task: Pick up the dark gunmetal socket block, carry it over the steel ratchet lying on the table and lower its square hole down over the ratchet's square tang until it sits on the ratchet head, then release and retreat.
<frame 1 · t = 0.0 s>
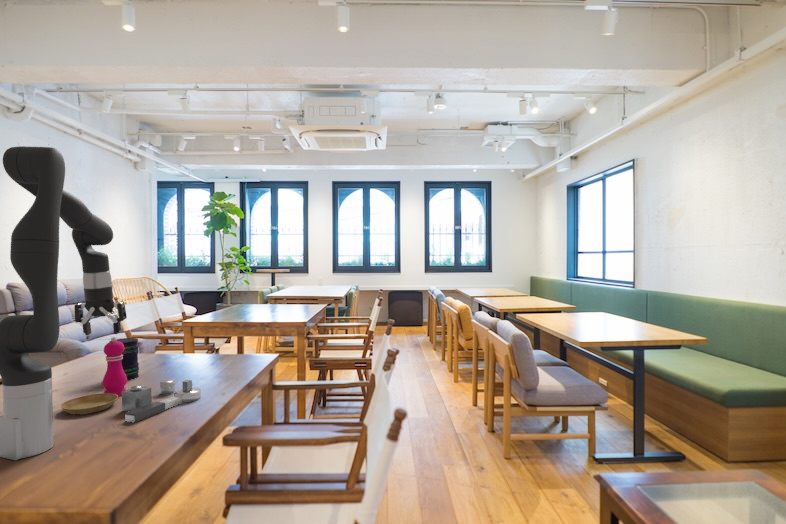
hand: (102, 333, 140), 22 cm above the table, tool pointing down, fingers open, 8 cm apart
plant saucer: (90, 409, 134), on the table
socket: (137, 408, 133), on the table
ratchet: (187, 398, 142), on the table
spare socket: (167, 393, 148), on the table
pepper mill: (115, 395, 147), on the table
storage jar: (124, 378, 168), on the table
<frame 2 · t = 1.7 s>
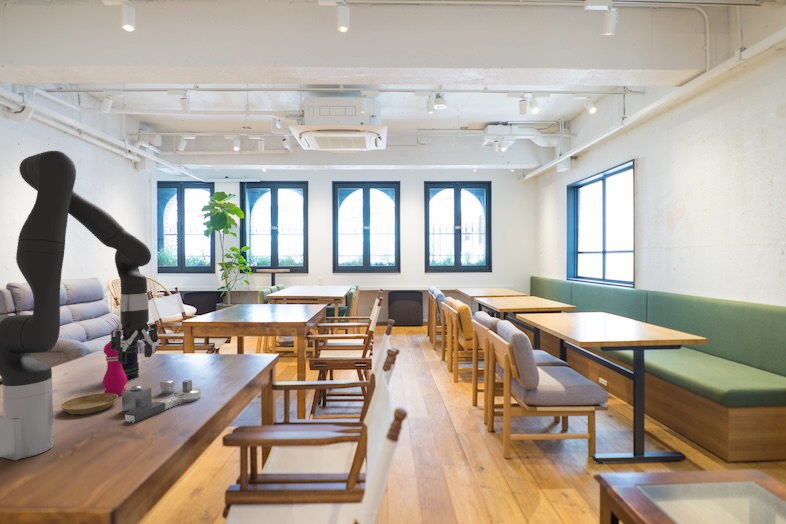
hand: (135, 360, 133), 15 cm above the table, tool pointing down, fingers open, 8 cm apart
nothing on the table moved.
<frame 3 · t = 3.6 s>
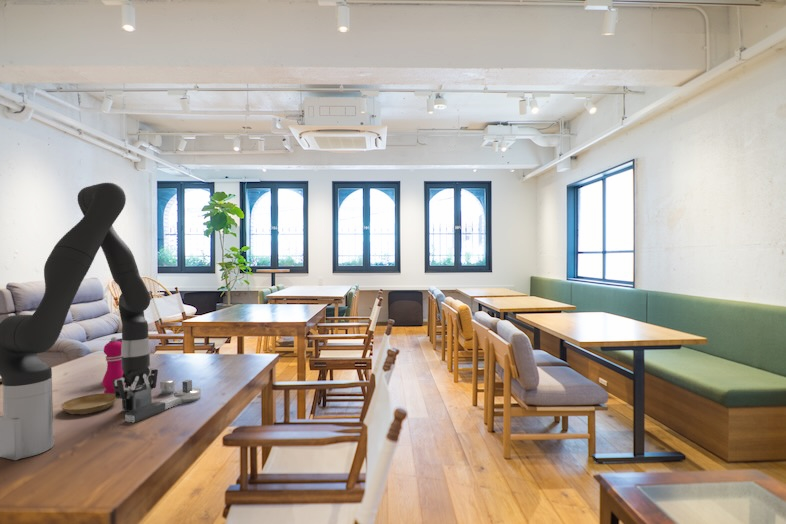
hand: (136, 406, 133), 1 cm above the table, tool pointing down, fingers closed on socket, 5 cm apart
socket: (137, 408, 133), on the table, touching gripper
everything else where it was.
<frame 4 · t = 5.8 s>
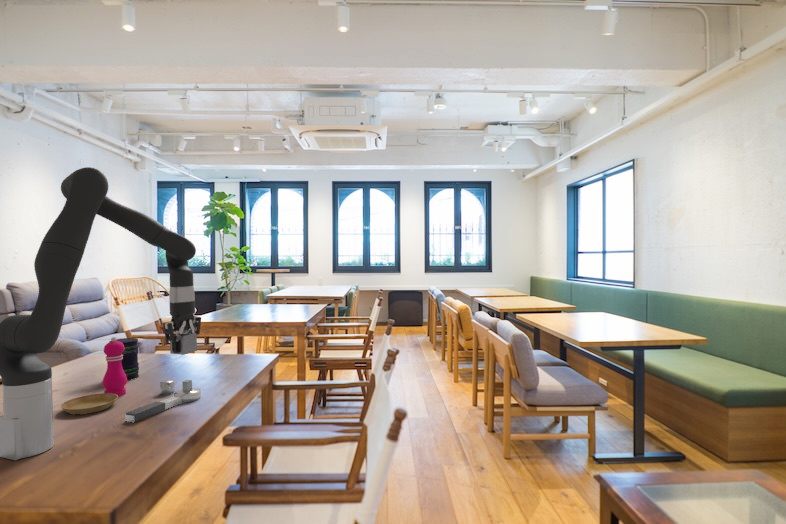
hand: (183, 350, 142), 16 cm above the table, tool pointing down, fingers closed on socket, 5 cm apart
socket: (183, 352, 142), point 16 cm above the table, touching gripper
everything else where it was.
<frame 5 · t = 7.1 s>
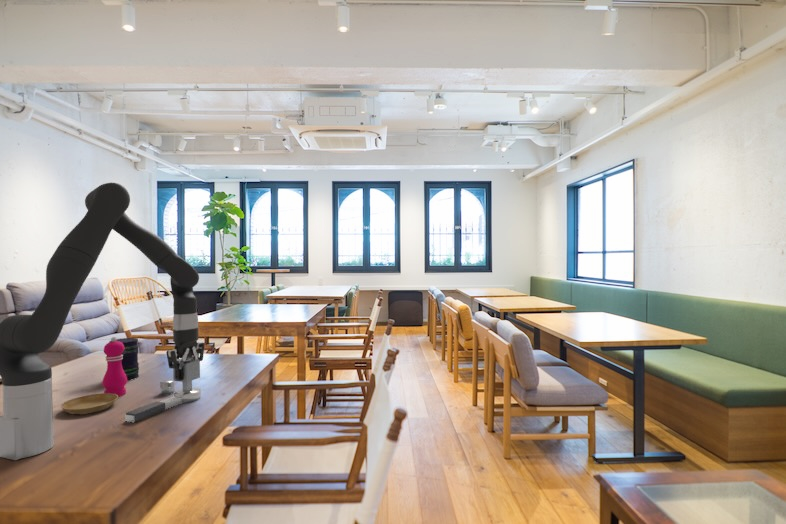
hand: (186, 377, 141), 7 cm above the table, tool pointing down, fingers closed on socket, 5 cm apart
socket: (186, 379, 142), point 7 cm above the table, touching gripper
everything else where it was.
when the fingers open (4 cm above the table, at t = 8.3 s): socket stays where it is, resting on ratchet.
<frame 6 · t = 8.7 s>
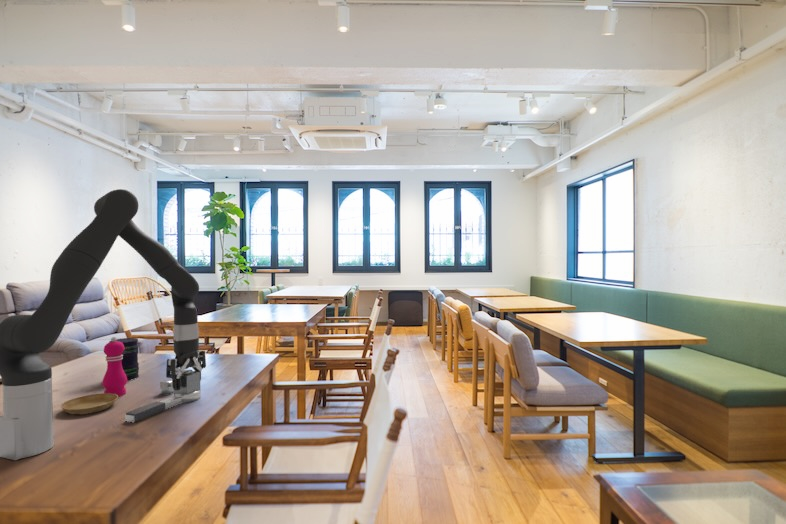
hand: (187, 386, 142), 4 cm above the table, tool pointing down, fingers open, 8 cm apart
socket: (187, 391, 142), point 2 cm above the table, touching ratchet
everything else where it was.
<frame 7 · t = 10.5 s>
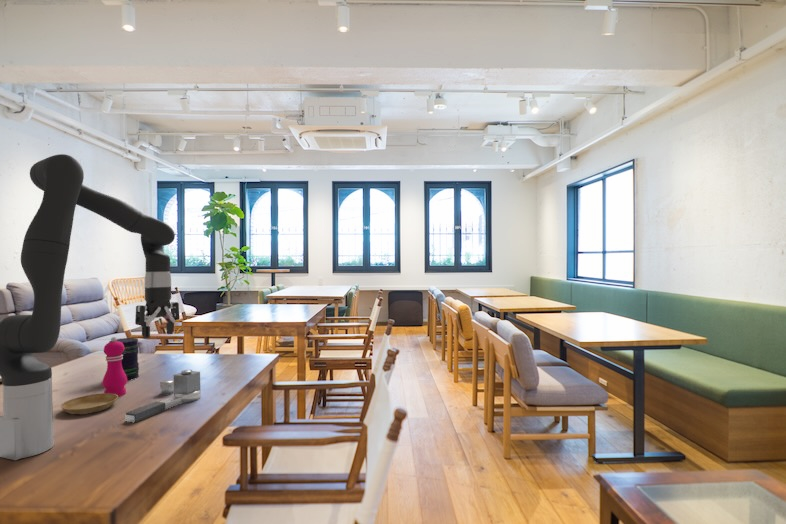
hand: (158, 336, 138), 22 cm above the table, tool pointing down, fingers open, 8 cm apart
nothing on the table moved.
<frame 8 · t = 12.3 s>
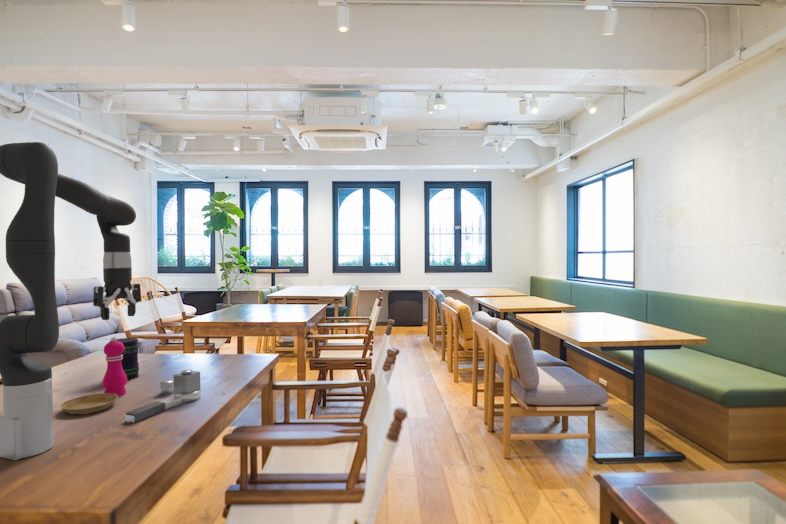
hand: (118, 317, 135), 28 cm above the table, tool pointing down, fingers open, 8 cm apart
nothing on the table moved.
at the end: socket 0.1 cm off-centre on the ratchet, point 2.5 cm above the ratchet's base; socket tilted 0°; the gripper is holding nothing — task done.
